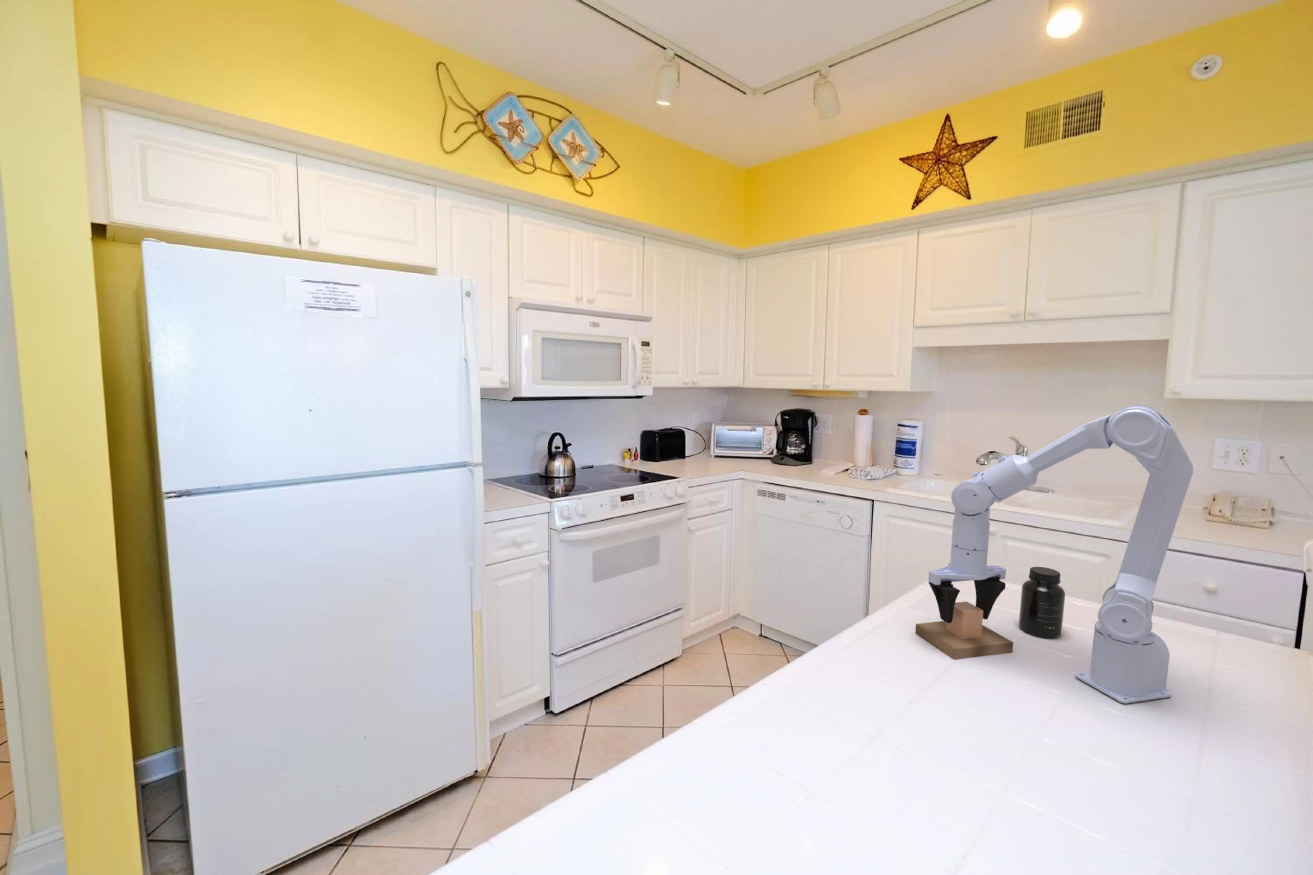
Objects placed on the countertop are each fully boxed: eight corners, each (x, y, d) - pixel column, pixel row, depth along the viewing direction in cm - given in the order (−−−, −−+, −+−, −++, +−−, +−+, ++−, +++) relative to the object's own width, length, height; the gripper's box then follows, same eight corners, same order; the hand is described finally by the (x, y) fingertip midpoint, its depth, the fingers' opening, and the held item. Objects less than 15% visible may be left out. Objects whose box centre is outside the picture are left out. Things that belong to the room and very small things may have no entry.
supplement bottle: (1011, 622, 113) (1016, 563, 112) (1049, 624, 113) (1054, 565, 111) (1029, 638, 107) (1034, 575, 105) (1069, 640, 106) (1075, 577, 104)
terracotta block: (964, 627, 107) (966, 601, 106) (981, 637, 103) (983, 610, 102) (946, 629, 106) (947, 603, 105) (961, 639, 102) (963, 612, 101)
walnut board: (969, 630, 111) (970, 618, 111) (1012, 655, 101) (1013, 642, 101) (915, 636, 108) (916, 623, 108) (953, 662, 99) (954, 649, 98)
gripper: (986, 537, 108) (981, 606, 110) (919, 541, 105) (914, 612, 106) (1017, 548, 101) (1011, 622, 103) (946, 553, 98) (941, 629, 100)
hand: (964, 618), depth 104 cm, fingers open, 7 cm apart
